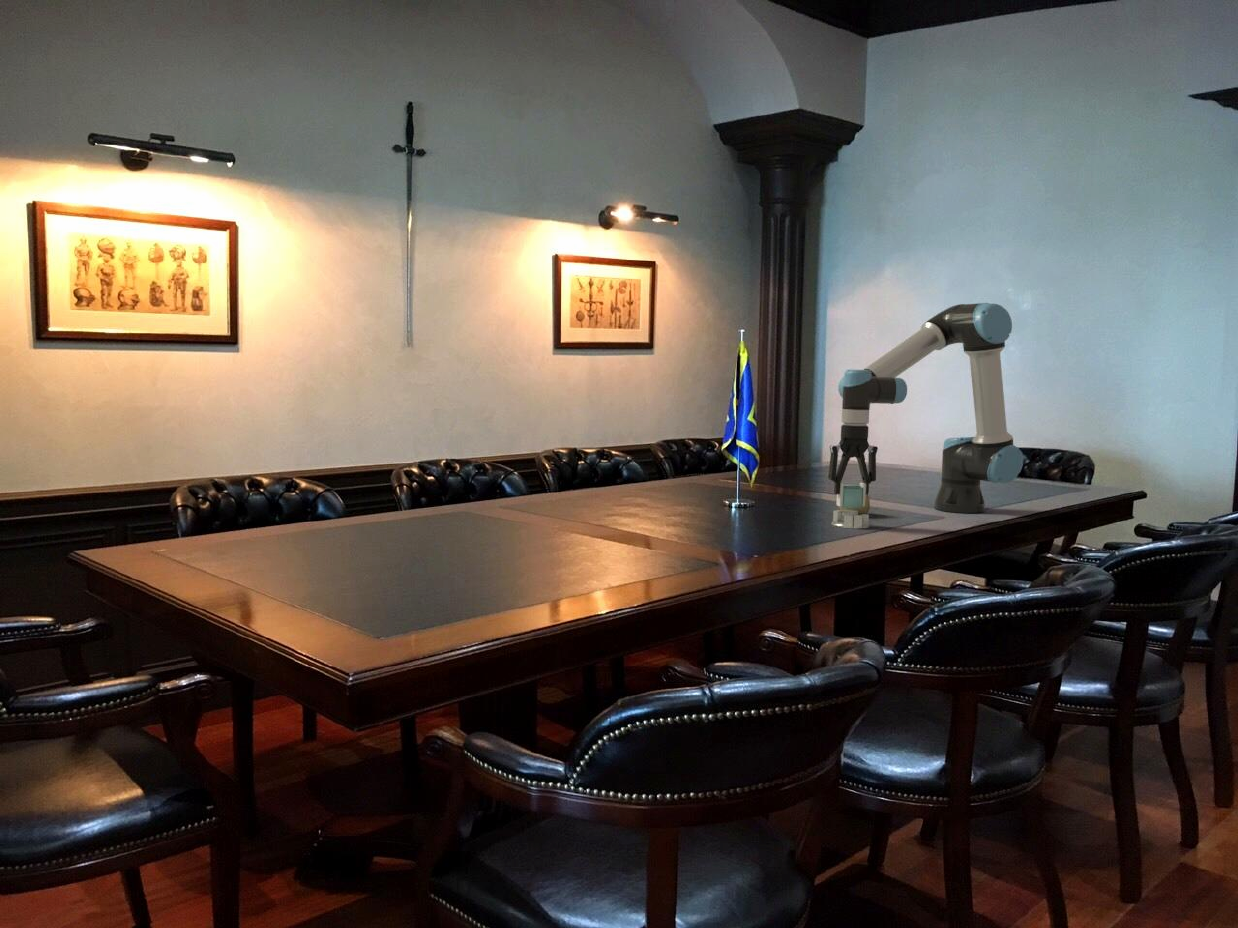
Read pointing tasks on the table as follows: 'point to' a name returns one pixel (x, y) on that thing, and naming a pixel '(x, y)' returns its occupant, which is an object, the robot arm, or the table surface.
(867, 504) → the coral
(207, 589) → the table surface
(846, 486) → the teal rounded cylinder
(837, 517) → the grey ring-shaped piece
